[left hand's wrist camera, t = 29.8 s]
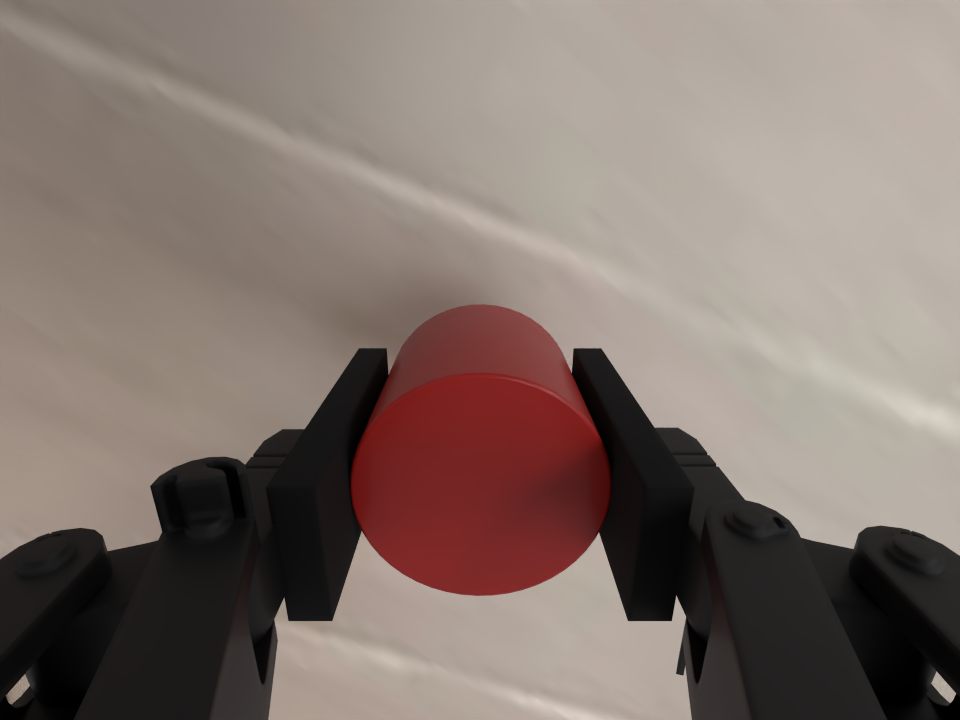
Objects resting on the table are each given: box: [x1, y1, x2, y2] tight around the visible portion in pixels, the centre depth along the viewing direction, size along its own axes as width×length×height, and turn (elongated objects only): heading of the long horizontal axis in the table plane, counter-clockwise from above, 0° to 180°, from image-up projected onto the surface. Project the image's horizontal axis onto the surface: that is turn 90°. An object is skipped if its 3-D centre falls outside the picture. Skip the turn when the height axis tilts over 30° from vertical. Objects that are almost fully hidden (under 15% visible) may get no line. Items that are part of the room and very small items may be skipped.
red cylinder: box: [350, 305, 612, 596], centre depth 12 cm, size 5×5×5 cm
